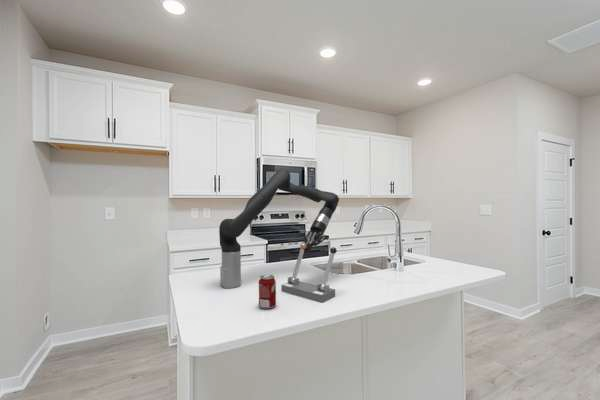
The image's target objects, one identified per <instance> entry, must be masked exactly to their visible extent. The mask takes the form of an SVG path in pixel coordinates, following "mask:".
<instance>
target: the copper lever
mask: <svg viewBox="0 0 600 400" xmlns="http://www.w3.org/2000/svg"><path fill="white" fill-rule="evenodd" d="M306 247H307V246H306V243H305V242H304V243H303V242H302V243H300V250H299V253H298V257H297V260H296V264H295V266H294V270H293V273H292V276H290V277H291V278H290V282H291V283H294V279H296V278H298V274H299V270H300V266H301V263H302V259H303V257H304V253H305V250H304V249H306Z"/></svg>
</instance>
